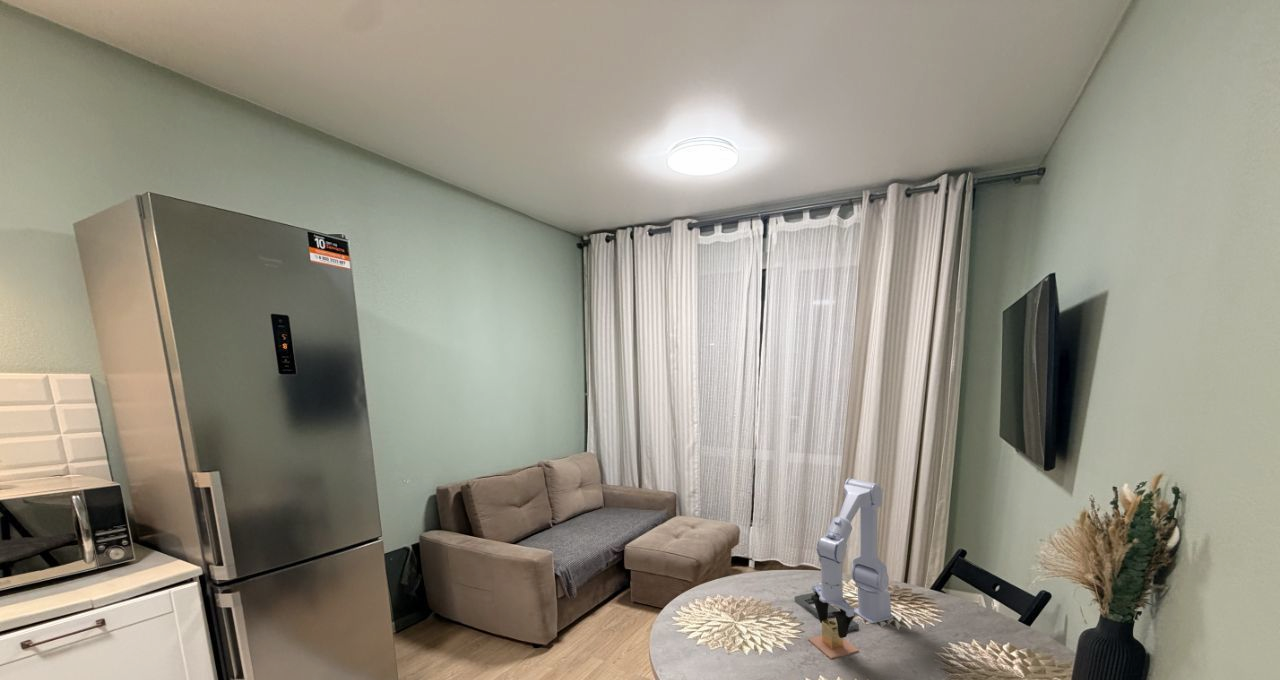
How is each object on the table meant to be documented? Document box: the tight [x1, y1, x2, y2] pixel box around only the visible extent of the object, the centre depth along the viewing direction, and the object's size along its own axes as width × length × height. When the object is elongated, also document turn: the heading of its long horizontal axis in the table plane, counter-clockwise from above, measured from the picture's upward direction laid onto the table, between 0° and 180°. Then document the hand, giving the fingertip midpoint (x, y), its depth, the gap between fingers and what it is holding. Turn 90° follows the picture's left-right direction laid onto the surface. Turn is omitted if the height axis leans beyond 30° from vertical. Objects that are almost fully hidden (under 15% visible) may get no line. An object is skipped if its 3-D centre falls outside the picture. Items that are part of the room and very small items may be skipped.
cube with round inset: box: [821, 617, 844, 650], centre depth 128 cm, size 4×4×6 cm
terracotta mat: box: [808, 635, 860, 660], centre depth 128 cm, size 10×9×1 cm
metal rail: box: [794, 592, 860, 633], centre depth 144 cm, size 8×20×2 cm, turn 19°
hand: (832, 629), depth 128 cm, fingers open, 7 cm apart
